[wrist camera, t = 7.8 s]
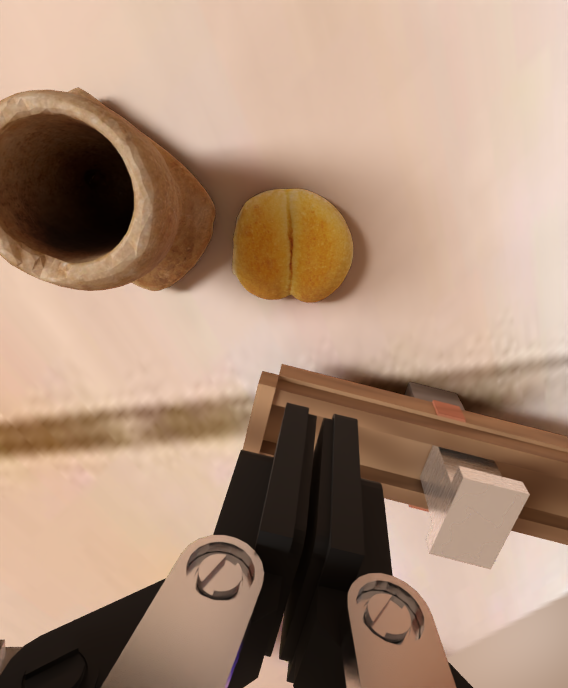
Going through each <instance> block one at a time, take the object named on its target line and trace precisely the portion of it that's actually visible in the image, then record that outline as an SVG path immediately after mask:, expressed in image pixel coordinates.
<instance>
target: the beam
mask: <svg viewBox="0 0 568 688" xmlns="http://www.w3.org/2000/svg"><path fill="white" fill-rule="evenodd" d="M286 403H292V404H296V405H300V406H304V407H308V408H309V414H311V415H315V416H317V421H316V432H315V443H314V449H315V446H316V442H317V438H318V435H319V431H320V428H321V424H322V421H323V418H328V419H332V417H333V415H334V414H338V415H342V416H347V417H351V418H355V419H357V420H358V436H359V455H360V475H361V478H363V479H367V480H371V481H375V482H380V483H381V484H382V488H383V495H384V498H386V499H390V500H394V501H398V502H402V503H405V504H409V507H412V508H416V509H420V510H424V511H427V512H429V509H428V506H427V502H426V498H425V494H424V491H423V487H422V483H421V479H420V476H421V473H422V471H423V468H424V466H425V463H426V461H427V459H428V456H429V454H430V451H431V449H432V447H433V445H434V446H438V447H442V448H446V449H450V450H454V451H458V452H462V453H466V454H470V455H474V456H477V457H481V458H485V459H489V460H493V461H494V462H495V464H496V465H497V467H498V469H499V471H500V473H501V475H502V477H505V478H509V479H513V480H517V481H521V482H523V484H524V485H525V487H526V489H527V491H528V492H529V494H530V495H529V497H528V499H527V501H526V503H525V505H524V507H523V509H522V510H521V512H520V514H519V516H518V518H517V520H516V522H515V524H514V526H513V528H512V529H511V531H515V532H519V533H523V534H527V535H531V536H534V537H538V538H542V539H546V540H550V541H554V542H558V543H562V544H566V545H568V437H567V436H563V435H559V434H556V433H552V432H548V431H544V430H540V429H536V428H532V427H528V426H524V425H520V424H516V423H512V422H508V421H504V420H500V419H496V418H493V417H489V416H485V415H481V414H477V413H473V412H469V411H465V409H464V407H463V405H462V403H461V401H460V400H459V398H458V396H457V394H456V393H452V392H448V391H444V390H440V389H436V388H432V387H428V386H425V385H421V384H417V383H413V382H409V383H408V386H407V389H406V392H405V394H404V395H402V394H398V393H394V392H390V391H386V390H382V389H378V388H374V387H370V386H367V385H363V384H359V383H355V382H351V381H347V380H343V379H339V378H335V377H331V376H327V375H323V374H319V373H315V372H311V371H307V370H304V369H300V368H296V367H292V366H288V365H284V364H282V366H281V370H280V374H279V375H276V374H272V373H268V372H264V371H262V374H261V377H260V380H259V383H258V387H257V391H256V396H255V400H254V404H253V408H252V413H251V417H250V421H249V425H248V429H247V434H246V438H245V442H244V446H243V450H245V451H250V452H254V453H258V454H262V455H266V456H271V457H274V453H275V449H276V445H277V441H278V436H279V432H280V428H281V424H282V420H283V415H284V411H285V407H286Z"/></svg>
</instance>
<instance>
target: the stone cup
mask: <svg viewBox="0 0 568 688" xmlns="http://www.w3.org/2000/svg"><path fill="white" fill-rule="evenodd" d="M215 214H216V210H215V206H214V203H213V201H212V200H211V198H210V196H209V195H208V193H207V191H206V190H205V189H204V188H203V186H202V185H201V184H200V183H199V181H198V180H197V179H196V178H195V177H194V176H193V175H192V174H191V173H190V172H189V170H188V169H186V168H185V167H184V166H183V165H182V164H181V163H180V162H179V161H178V160H177V159H176V158H174V157H173V156H172V155H171V154H170V153H169V152H167V151H166V150H165V149H164V148H162V147H161V146H160V145H158V144H157V143H156V142H155V141H153V140H152V139H150V138H149V137H148V136H146V135H145V134H144V133H142V132H141V131H139V130H138V129H137V128H136V127H135V126H133V125H132V124H131V123H130V122H128V121H127V120H126V119H124V118H123V117H122V116H120V115H119V114H117V113H116V112H114V111H112V110H111V109H109V108H107V107H106V106H104V105H103V104H102V103H101V102H100V101H98V100H97V99H96V98H94V97H93V96H92V95H90V94H89V93H87V92H85V91H84V90H82V89H80V88H75V89H73V90H71V91H69V92H62V91H54V90H32V91H26V92H21V93H16V94H14V95H12V96H10V97H7V98H5V99H3V100H1V101H0V255H1V256H2V257H3V258H4V259H5V260H7V261H8V262H9V263H10V264H11V265H13V266H15V267H17V268H18V269H20V270H22V271H24V272H26V273H27V274H29V275H31V276H34V277H36V278H38V279H40V280H43V281H46V282H49V283H52V284H55V285H58V286H61V287H66V288H71V289H77V290H87V291H94V290H106V289H112V288H116V287H120V286H123V285H126V284H129V283H133V284H135V285H137V286H140V287H142V288H145V289H148V290H151V291H159V290H162V289H164V288H167V287H170V286H171V285H173V284H174V283H176V282H177V281H178V280H180V279H181V278H182V277H183V276H184V275H185V274H186V273H187V272H188V271H189V270H190V269H192V268H193V267H194V265H195V264H196V263H197V262H198V260H199V259H200V257H201V256H202V254H203V253H204V251H205V249H206V247H207V245H208V244H209V242H210V240H211V237H212V234H213V222H214V219H215Z"/></svg>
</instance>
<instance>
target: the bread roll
mask: <svg viewBox="0 0 568 688" xmlns="http://www.w3.org/2000/svg"><path fill="white" fill-rule="evenodd" d="M233 242H234V247H233V260H232V272H233V274H234V275H236V276H237V277H238V279H239V281H240V283H241V284H242V285H243V287H244V288H245V289H246V290H247V291H249V292H250V293H252V294H254V295H256V296H258V297H260V298H264V299H269V300H273V299H281V298H284V297H286V296H289V295H292V296H294V297H295V298H296V299H298V300H300V301H303V302H318V301H320V300H323V299H325V298H326V297H327V296H329V295H330V294H331V293H333V292H334V291H335V290H336V289H337V288H338V287H339V286H340V285H341V284H342V282H343V280H344V279H345V277H346V275H347V273H348V271H349V269H350V267H351V264H352V259H353V241H352V236H351V234H350V231H349V228H348V226H347V224H346V222H345V220H344V218H343V216H342V215H341V214H340V212H339V211H338V210H337V209H336V208H335V206H333V205H332V204H331V203H330V202H328V201H327V200H326V199H325V198H323V197H321V196H319V195H317V194H315V193H313V192H311V191H308V190H305V189H298V188H295V189H274V190H269V191H265V192H262V193H260V194H258V195H256V196H254V197H252V198H251V199H249V200H248V201H247V202H246V203H245V204H244V206H243V207H242V209H241V211H240V213H239V215H238V217H237V218H236V228H235V231H234V237H233Z"/></svg>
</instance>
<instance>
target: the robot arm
mask: <svg viewBox="0 0 568 688" xmlns="http://www.w3.org/2000/svg"><path fill="white" fill-rule="evenodd" d="M316 421H317V416H315V415H311V414H309V408H308V407H304V406H300V405H296V404H292V403H286V407H285V411H284V415H283V420H282V424H281V428H280V432H279V436H278V441H277V445H276V449H275V453H274V457H271V456H266V455H262V454H258V453H254V452H250V451H245V450H241V452H240V454H239V457H238V460H237V464H236V467H235V470H234V473H233V476H232V479H231V482H230V485H229V488H228V491H227V494H226V497H225V500H224V503H223V507H222V510H221V513H220V516H219V519H218V522H217V525H216V528H215V531H214V534H213V535H210V536H207V537H203V538H199V539H198V540H196V541H194V542H193V543H191V544H189V545H188V546H187V547H186V549H185V550H184V551H183V552H182V553H181V555H180V556H179V558H178V560H177V561H176V563H175V565H174V566H173V568H172V570H171V571H170V573H169V575H168V576H167V578H166V579H164V580H161V581H159V582H157V583H155V584H153V585H150V586H148V587H146V588H144V589H142V590H139V591H137V592H135V593H133V594H131V595H129V596H126V597H124V598H122V599H120V600H118V601H115V602H113V603H111V604H109V605H107V606H105V607H102V608H100V609H98V610H96V611H94V612H91V613H89V614H87V615H85V616H83V617H81V618H78V619H76V620H74V621H72V622H70V623H67V624H65V625H63V626H61V627H59V628H57V629H54V630H52V631H50V632H48V633H46V634H43V635H41V636H39V637H38V638H36V639H34V640H33V641H31V642H30V643H28V644H26V645H25V646H24V647H5V640H0V688H243V687H245V686H246V685H248V684H249V683H251V682H252V681H254V680H255V679H256V678H258V675H259V672H260V668H261V665H262V662H263V658H264V655H265V656H269V657H270V656H271V654H272V651H273V648H274V644H275V641H276V638H277V634H278V631H279V627H280V624H281V621H282V617H283V614H284V619H283V628H282V636H281V644H280V652H279V659H281V660H285V661H289V664H288V673H287V682H291V683H294V684H293V687H294V688H473V687H472V686H471V685H470V684H469V683H468V682H467V681H466V680H465V679H464V678H463V677H462V676H461V675H460V674H459V672H458V671H457V670H456V669H455V668H454V667H453V666H452V665H451V664H450V663H449V662H448V661H447V658H446V655H445V652H444V649H443V646H442V643H441V640H440V637H439V634H438V631H437V628H436V625H435V622H434V619H433V616H432V614H431V612H430V610H429V608H428V606H427V604H426V602H425V601H424V600H423V598H422V597H421V596H420V595H419V593H418V592H417V591H416V590H414V589H413V588H412V587H411V586H409V585H408V584H407V583H406V582H404V581H402V580H400V579H398V578H396V577H394V576H392V567H391V558H390V549H389V540H388V531H387V522H386V513H385V504H384V495H383V488H382V484H381V483H380V482H375V481H371V480H367V479H363V478H361V475H360V455H359V436H358V420H357V419H355V418H351V417H347V416H342V415H338V414H334V415H333V417H332V419H328V418H323V421H322V424H321V428H320V431H319V435H318V438H317V442H316V446H315V449H314V443H315V432H316Z"/></svg>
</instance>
